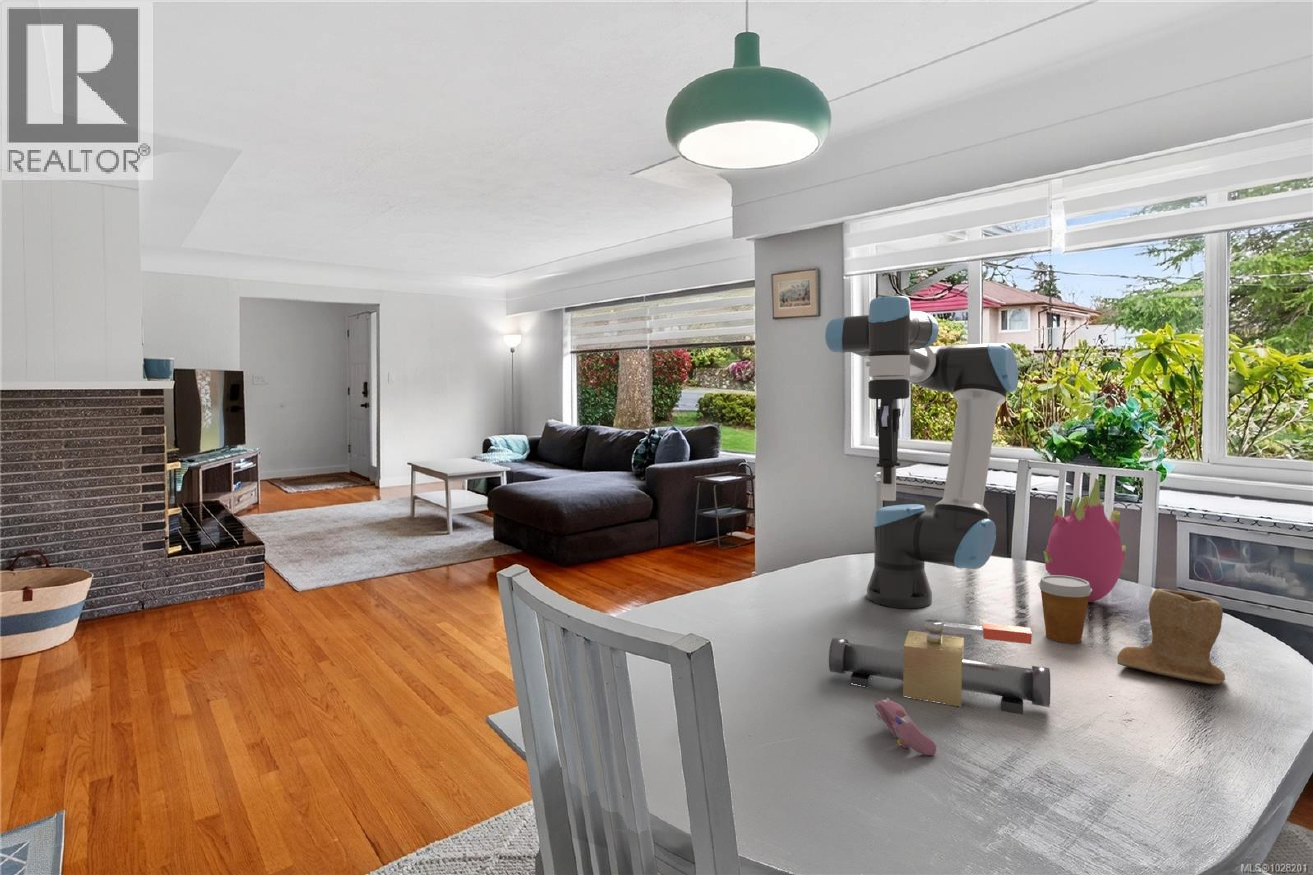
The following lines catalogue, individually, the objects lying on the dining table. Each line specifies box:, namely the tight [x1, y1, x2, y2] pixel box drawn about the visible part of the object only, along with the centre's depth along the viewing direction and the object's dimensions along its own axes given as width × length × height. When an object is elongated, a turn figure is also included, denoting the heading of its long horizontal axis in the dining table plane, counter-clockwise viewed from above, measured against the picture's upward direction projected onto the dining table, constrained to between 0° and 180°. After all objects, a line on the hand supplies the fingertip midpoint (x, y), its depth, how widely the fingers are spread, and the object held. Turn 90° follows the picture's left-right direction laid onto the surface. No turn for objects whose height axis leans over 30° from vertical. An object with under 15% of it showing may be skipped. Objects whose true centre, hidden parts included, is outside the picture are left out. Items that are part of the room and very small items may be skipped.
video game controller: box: [874, 697, 937, 757], centre depth 104 cm, size 10×5×7 cm, turn 7°
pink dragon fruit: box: [1043, 478, 1127, 603], centre depth 166 cm, size 18×14×30 cm
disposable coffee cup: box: [1037, 574, 1092, 644], centre depth 144 cm, size 10×10×12 cm
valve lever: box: [923, 619, 1033, 645], centre depth 117 cm, size 16×3×2 cm, turn 68°
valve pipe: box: [828, 630, 1051, 715], centre depth 119 cm, size 8×34×11 cm, turn 64°
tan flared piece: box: [1116, 588, 1226, 685], centre depth 126 cm, size 15×12×15 cm
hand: (888, 499), depth 136 cm, fingers closed
